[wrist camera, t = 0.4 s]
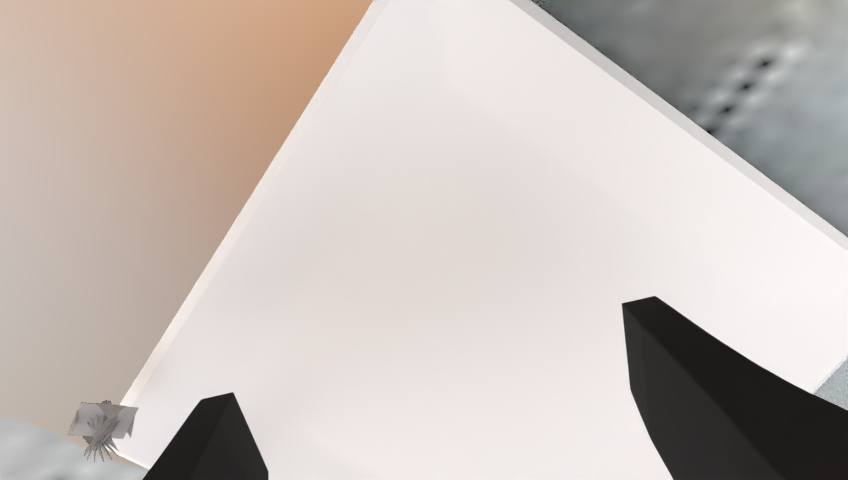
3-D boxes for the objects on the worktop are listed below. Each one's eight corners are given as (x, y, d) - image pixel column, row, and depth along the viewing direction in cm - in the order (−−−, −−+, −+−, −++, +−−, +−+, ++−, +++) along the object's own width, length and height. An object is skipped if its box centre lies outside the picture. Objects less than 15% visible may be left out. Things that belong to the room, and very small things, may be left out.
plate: (420, -77, 20) (424, -81, 18) (879, 265, 25) (921, 291, 23) (114, 411, 25) (92, 448, 23) (541, 622, 30) (553, 668, 28)
